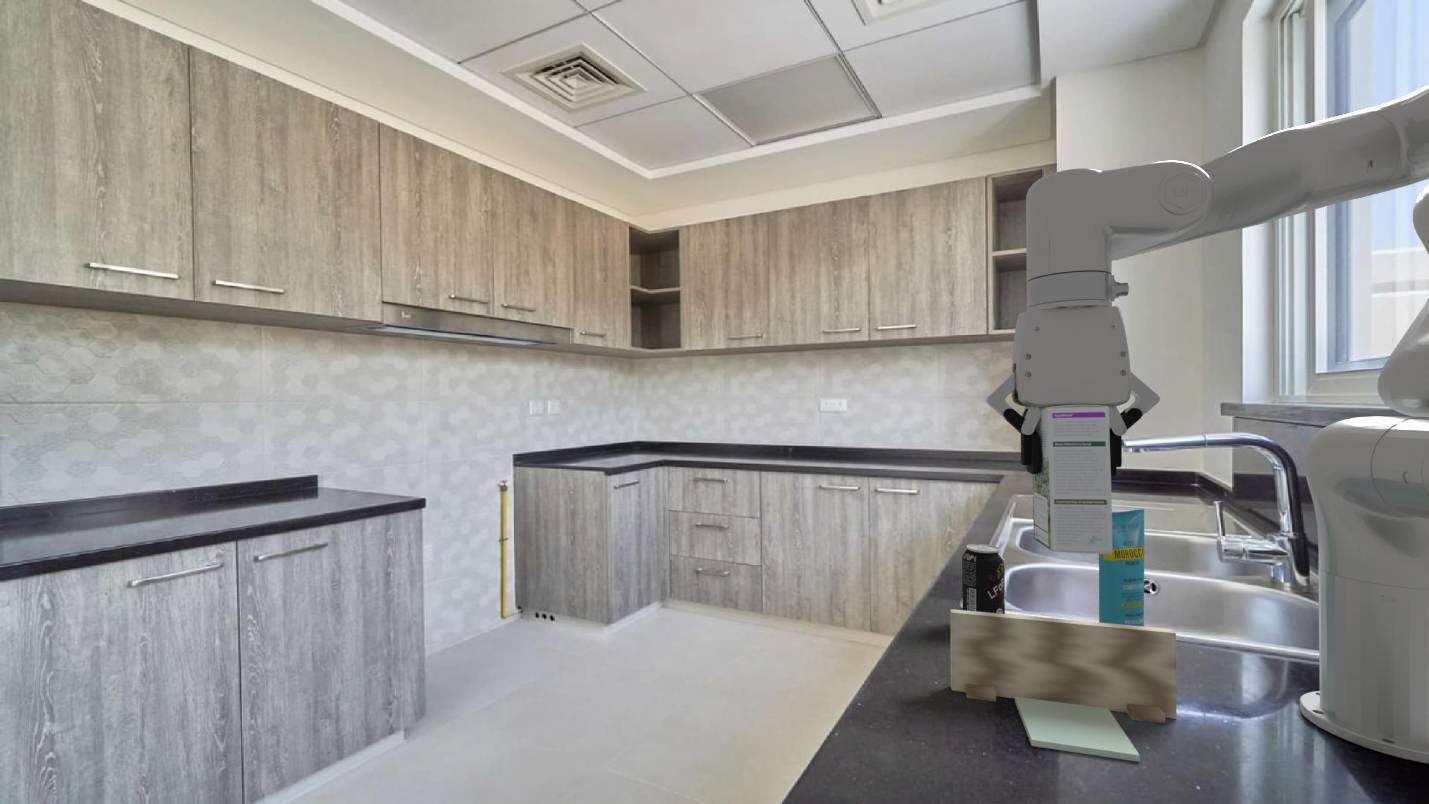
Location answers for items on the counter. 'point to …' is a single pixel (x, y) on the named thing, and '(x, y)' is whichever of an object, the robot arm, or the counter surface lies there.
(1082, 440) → the syrup box
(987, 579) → the beverage can
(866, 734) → the counter surface
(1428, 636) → the robot arm
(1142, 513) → the tube
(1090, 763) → the counter surface
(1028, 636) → the birch board
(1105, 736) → the green pad
